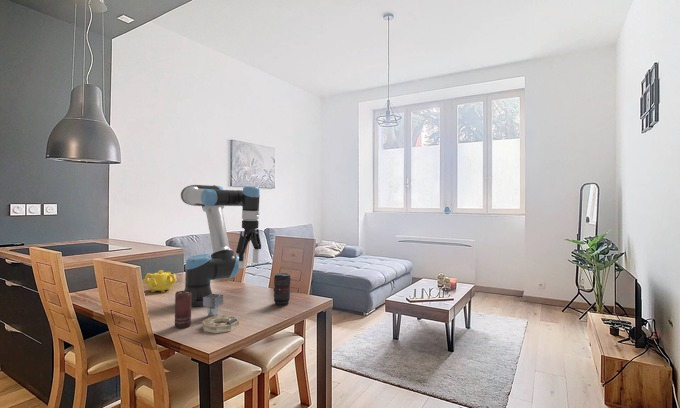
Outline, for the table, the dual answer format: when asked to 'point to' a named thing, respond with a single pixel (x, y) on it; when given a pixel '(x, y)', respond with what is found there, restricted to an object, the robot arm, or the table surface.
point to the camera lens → (282, 289)
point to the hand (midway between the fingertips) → (248, 265)
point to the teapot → (160, 281)
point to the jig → (220, 324)
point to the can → (183, 309)
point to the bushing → (212, 303)
